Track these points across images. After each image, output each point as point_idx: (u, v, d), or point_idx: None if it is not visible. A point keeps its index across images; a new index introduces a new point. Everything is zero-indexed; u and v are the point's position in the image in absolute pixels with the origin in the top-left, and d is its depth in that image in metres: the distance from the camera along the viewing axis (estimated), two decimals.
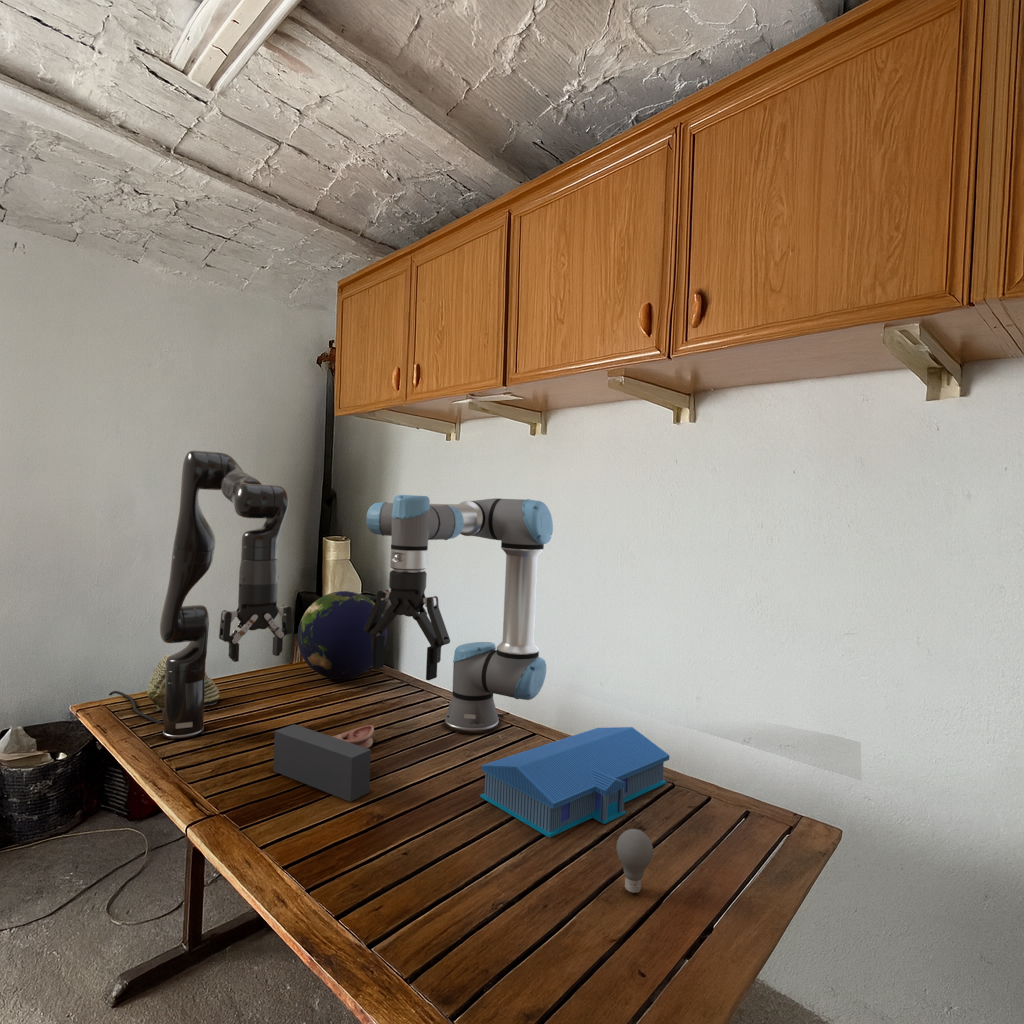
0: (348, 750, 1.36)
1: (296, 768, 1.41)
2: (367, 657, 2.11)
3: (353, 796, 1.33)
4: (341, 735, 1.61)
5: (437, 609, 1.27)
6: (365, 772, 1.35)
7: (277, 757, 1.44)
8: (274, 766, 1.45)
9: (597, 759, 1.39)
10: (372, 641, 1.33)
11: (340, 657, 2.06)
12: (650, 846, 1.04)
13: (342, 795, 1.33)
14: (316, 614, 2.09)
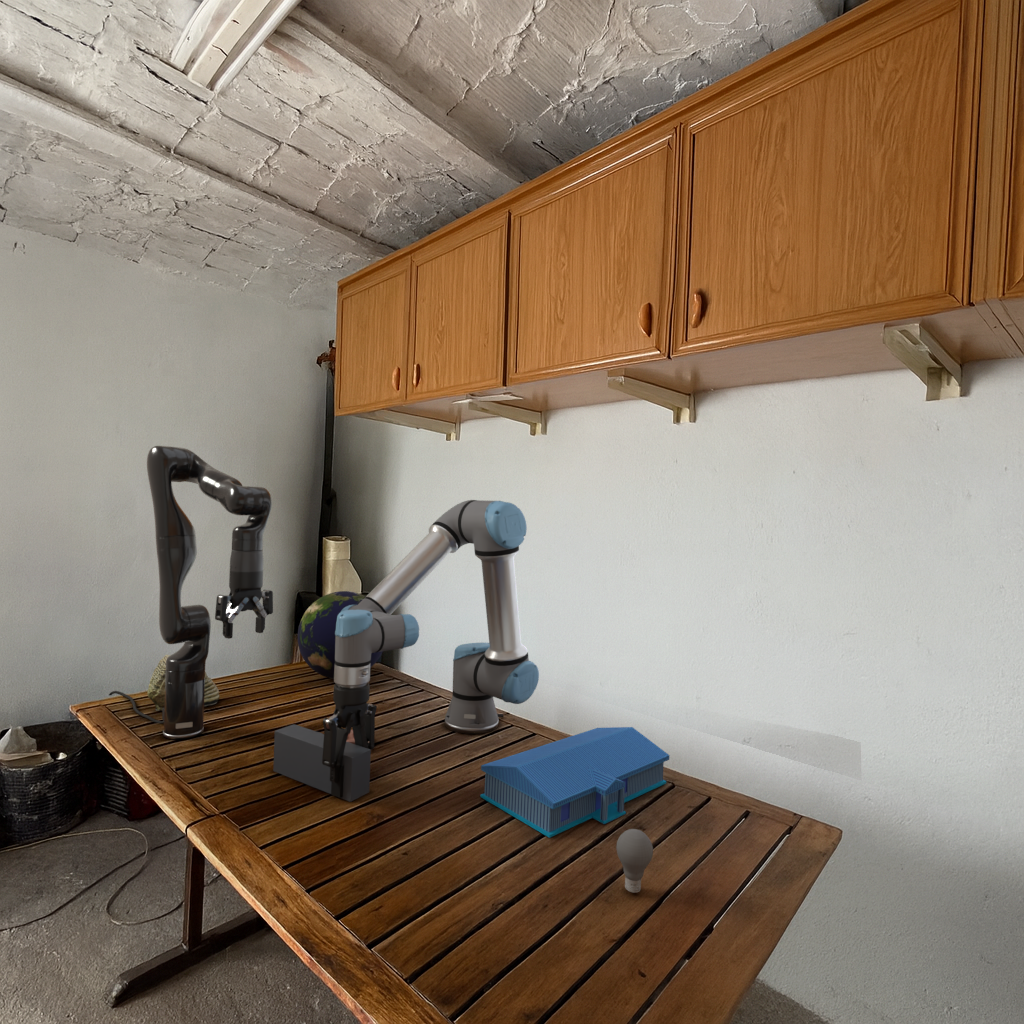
0: (348, 750, 1.36)
1: (296, 768, 1.41)
2: None
3: (353, 796, 1.33)
4: None
5: None
6: (365, 772, 1.35)
7: (277, 757, 1.44)
8: (274, 766, 1.45)
9: (597, 759, 1.39)
10: (335, 772, 1.32)
11: None
12: (650, 846, 1.04)
13: None
14: (316, 614, 2.09)
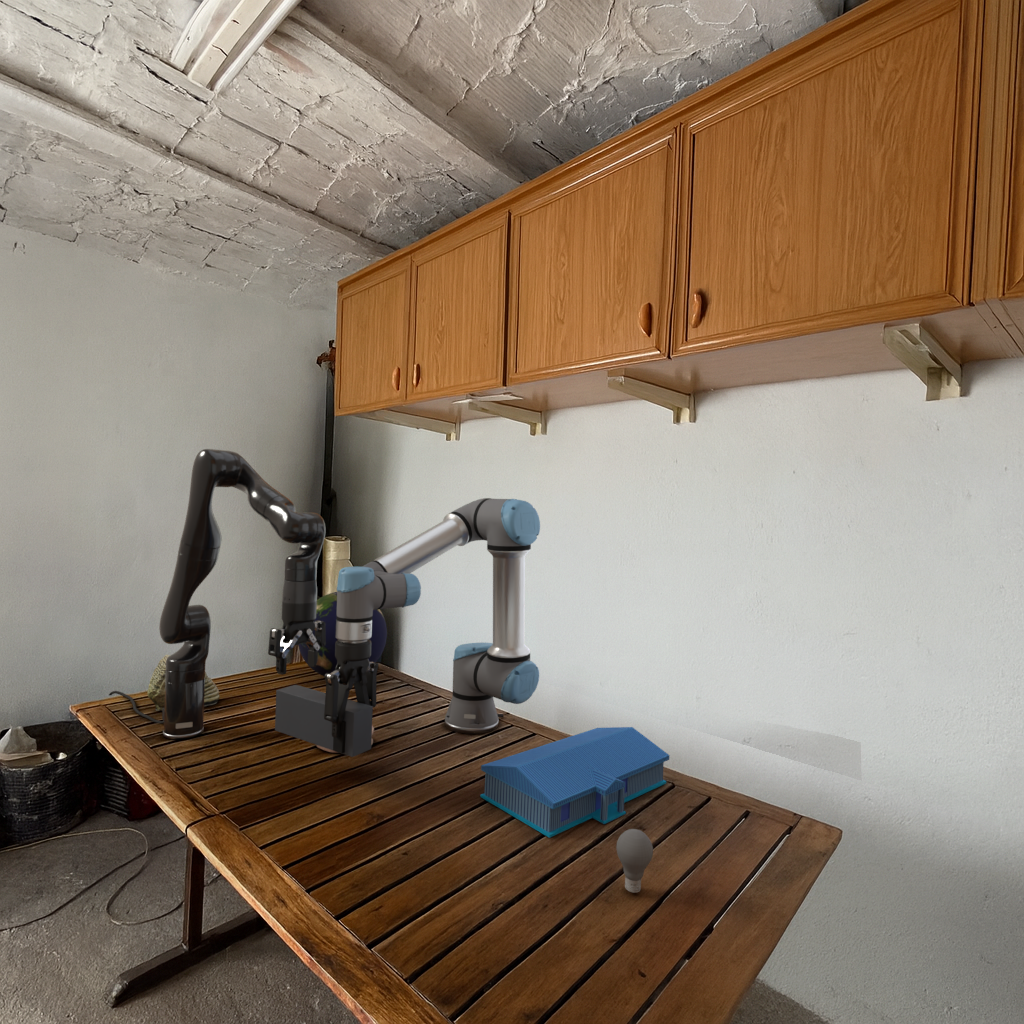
0: (350, 706, 1.35)
1: (298, 727, 1.41)
2: None
3: (355, 751, 1.33)
4: None
5: None
6: (367, 728, 1.35)
7: (278, 716, 1.44)
8: (276, 725, 1.45)
9: (597, 759, 1.39)
10: (337, 727, 1.32)
11: None
12: (650, 846, 1.04)
13: None
14: (316, 614, 2.09)
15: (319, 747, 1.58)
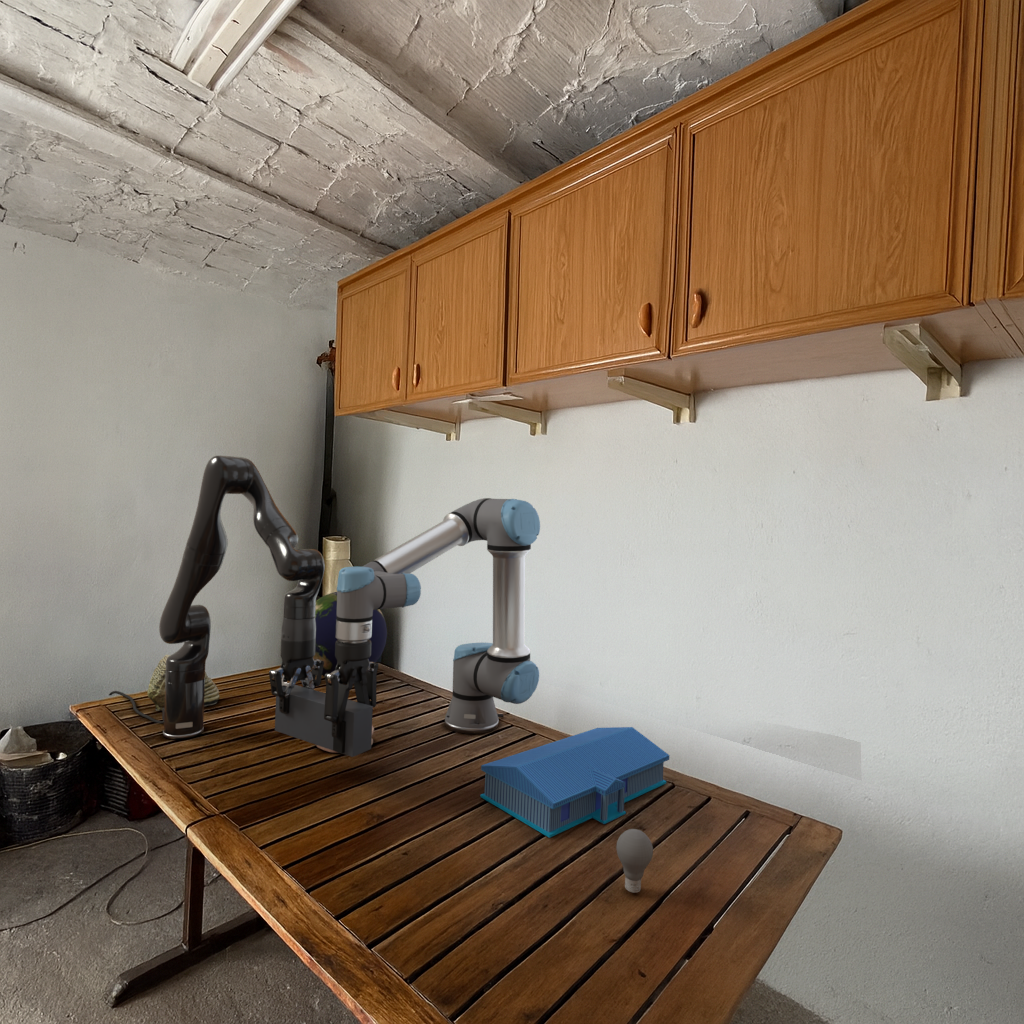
0: (350, 706, 1.35)
1: (298, 727, 1.41)
2: None
3: (355, 751, 1.33)
4: None
5: None
6: (367, 728, 1.35)
7: (278, 716, 1.44)
8: (276, 725, 1.45)
9: (597, 759, 1.39)
10: (337, 727, 1.32)
11: None
12: (650, 846, 1.04)
13: None
14: (316, 614, 2.09)
15: (319, 747, 1.58)
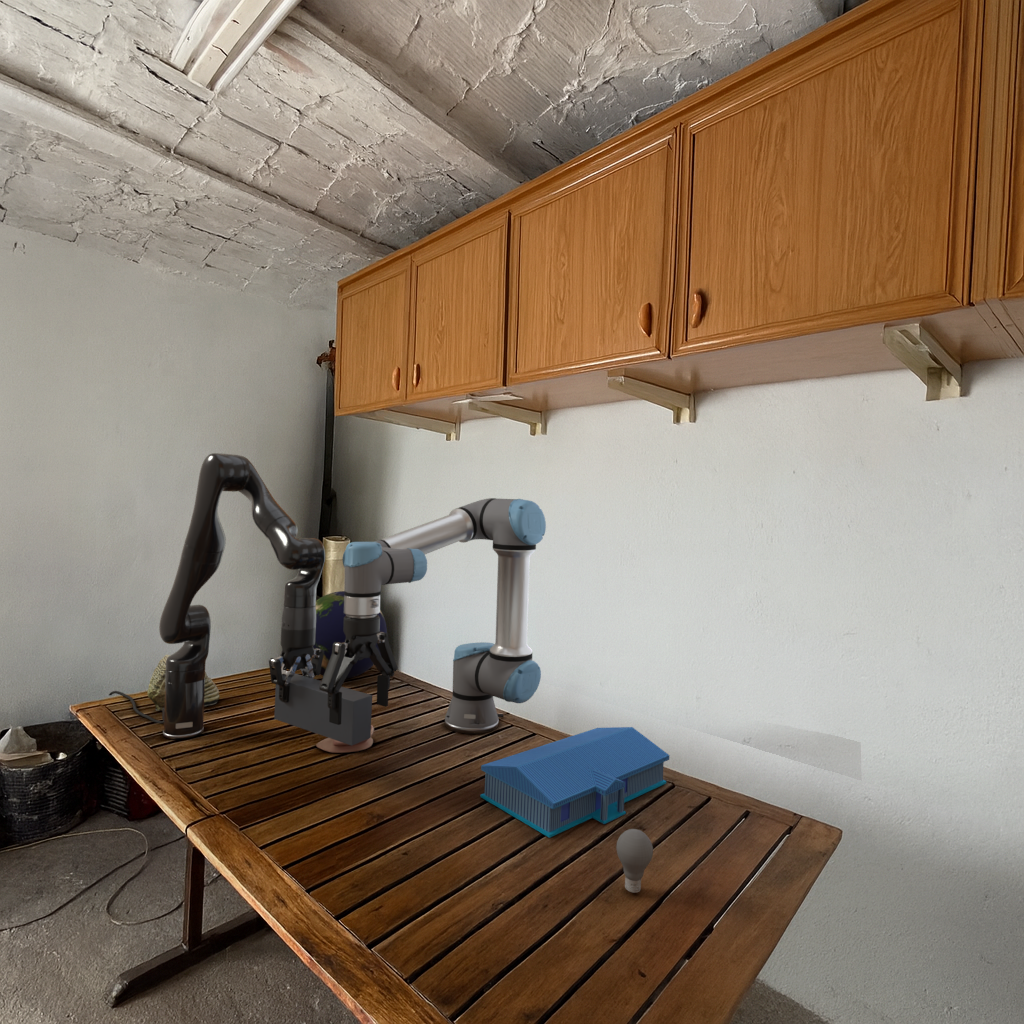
0: (349, 695, 1.35)
1: (297, 715, 1.41)
2: None
3: (354, 740, 1.33)
4: None
5: None
6: (366, 717, 1.35)
7: (278, 704, 1.44)
8: (275, 714, 1.45)
9: (597, 759, 1.39)
10: (333, 698, 1.28)
11: None
12: (650, 846, 1.04)
13: (343, 739, 1.33)
14: (316, 614, 2.09)
15: (319, 747, 1.58)
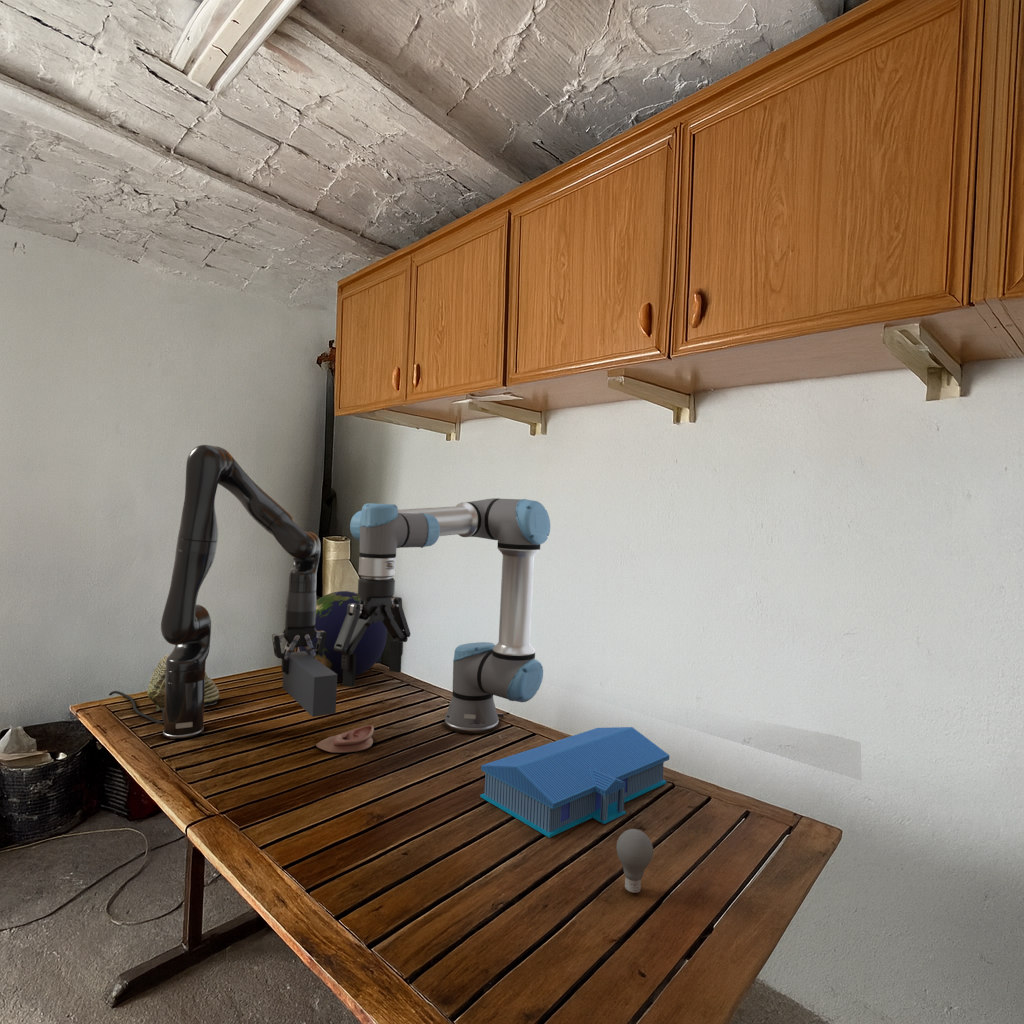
0: (319, 672, 1.51)
1: (291, 686, 1.61)
2: (367, 657, 2.11)
3: (316, 712, 1.48)
4: (341, 735, 1.61)
5: None
6: (330, 694, 1.50)
7: (284, 675, 1.66)
8: (283, 683, 1.67)
9: (597, 759, 1.39)
10: (347, 659, 1.25)
11: (340, 657, 2.06)
12: (650, 846, 1.04)
13: (309, 710, 1.49)
14: (316, 614, 2.09)
15: (319, 747, 1.58)
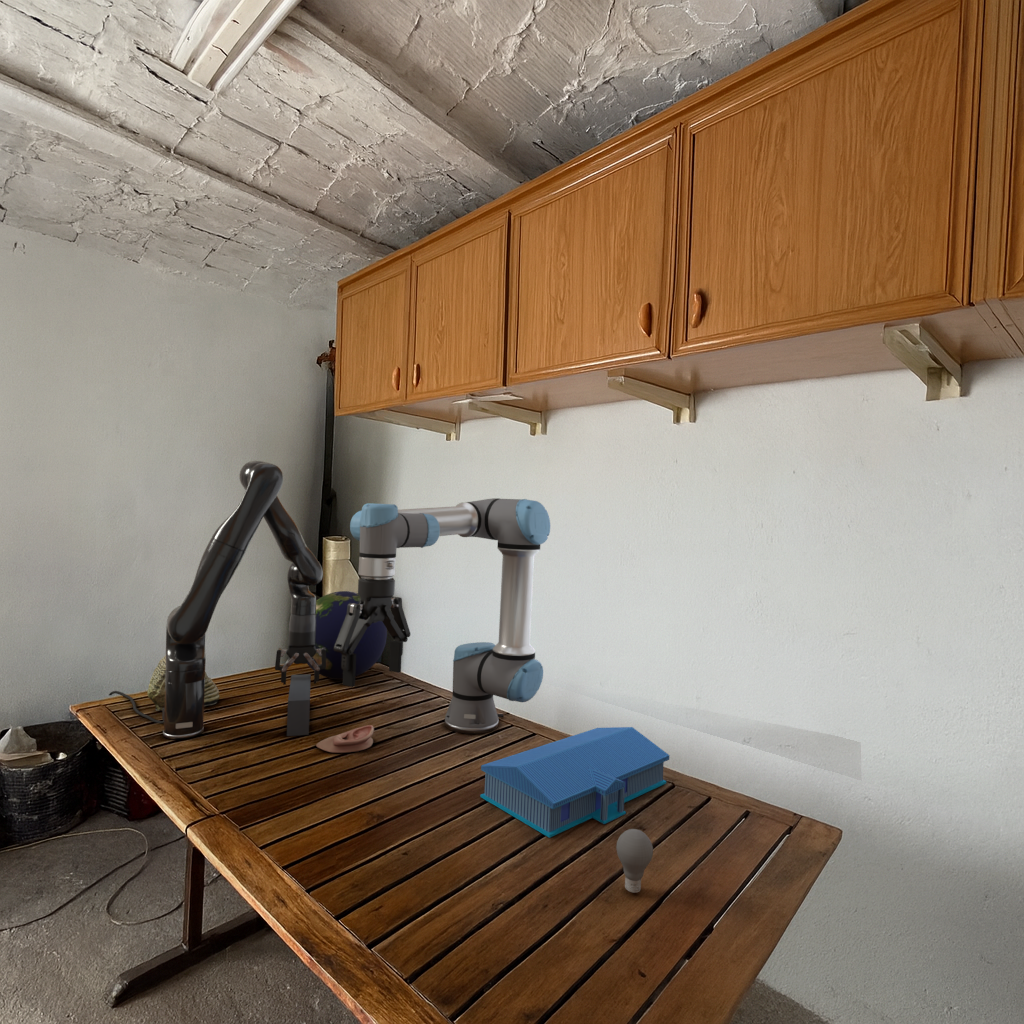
0: (297, 696, 1.70)
1: None
2: (367, 657, 2.11)
3: (290, 732, 1.66)
4: (341, 735, 1.61)
5: None
6: (303, 717, 1.67)
7: None
8: None
9: (597, 759, 1.39)
10: (347, 659, 1.25)
11: (340, 657, 2.06)
12: (650, 846, 1.04)
13: None
14: (316, 614, 2.09)
15: (319, 747, 1.58)
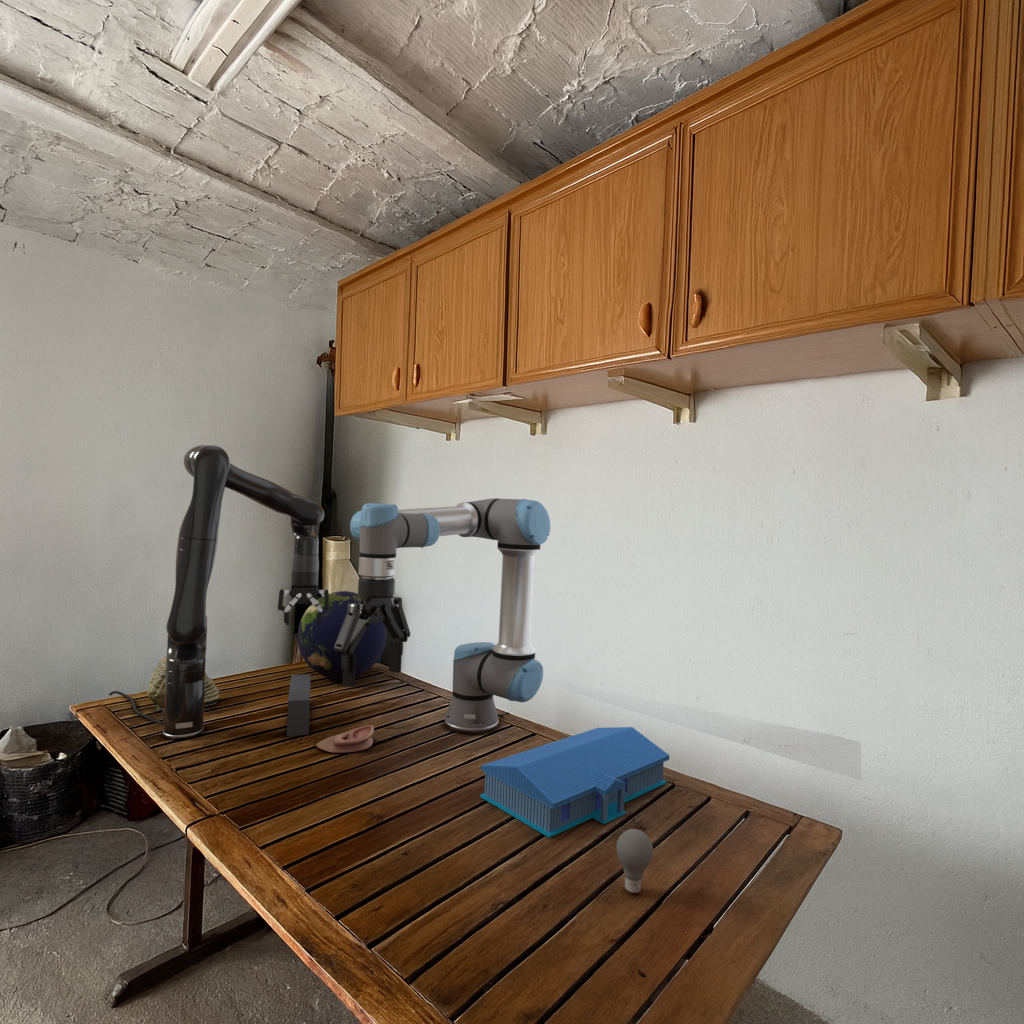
0: (297, 696, 1.70)
1: None
2: (367, 657, 2.11)
3: (290, 732, 1.66)
4: (341, 735, 1.61)
5: None
6: (303, 717, 1.67)
7: None
8: None
9: (597, 759, 1.39)
10: (347, 659, 1.25)
11: (340, 657, 2.06)
12: (650, 846, 1.04)
13: None
14: (316, 614, 2.09)
15: (319, 747, 1.58)
